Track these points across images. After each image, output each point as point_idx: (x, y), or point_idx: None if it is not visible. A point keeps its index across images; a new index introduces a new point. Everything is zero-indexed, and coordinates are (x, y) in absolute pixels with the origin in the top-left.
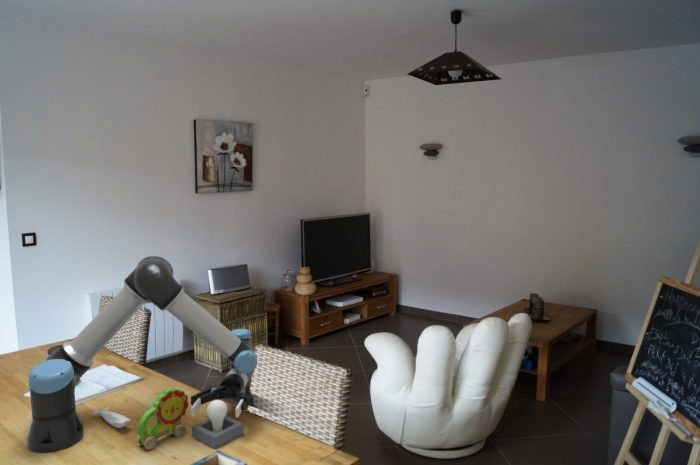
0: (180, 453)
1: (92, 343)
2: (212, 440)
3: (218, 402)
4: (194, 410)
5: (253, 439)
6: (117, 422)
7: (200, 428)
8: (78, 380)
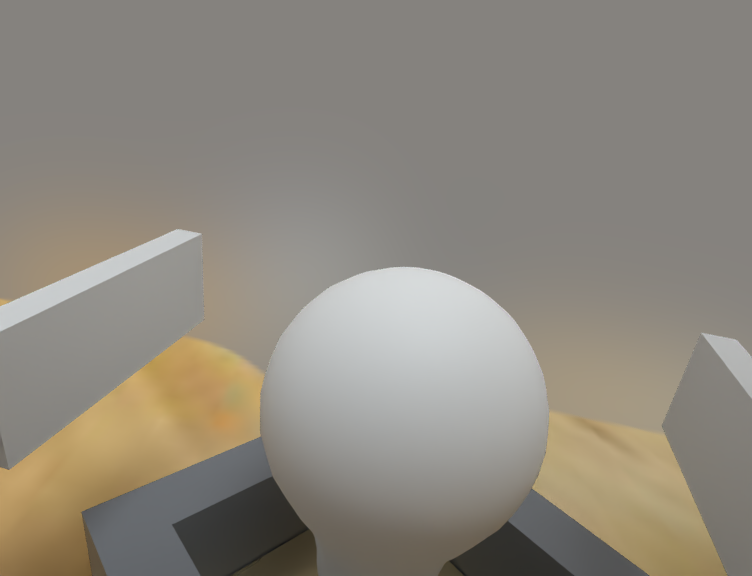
0: (592, 459)
1: None
2: None
3: (391, 268)
4: (692, 391)
5: (66, 490)
6: None
7: (549, 524)
8: None
